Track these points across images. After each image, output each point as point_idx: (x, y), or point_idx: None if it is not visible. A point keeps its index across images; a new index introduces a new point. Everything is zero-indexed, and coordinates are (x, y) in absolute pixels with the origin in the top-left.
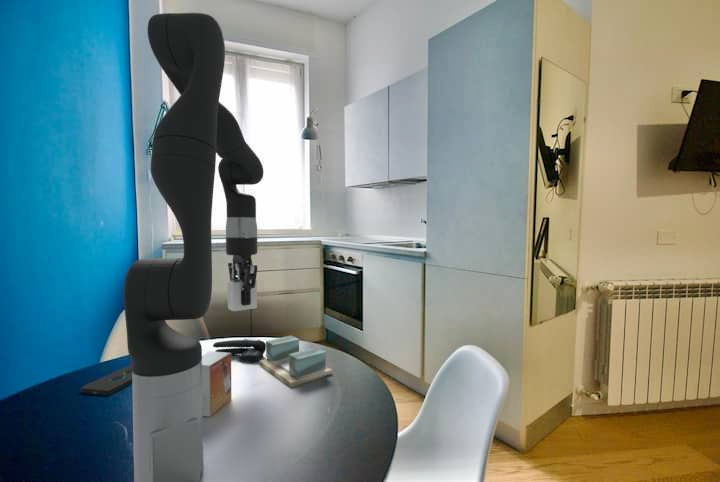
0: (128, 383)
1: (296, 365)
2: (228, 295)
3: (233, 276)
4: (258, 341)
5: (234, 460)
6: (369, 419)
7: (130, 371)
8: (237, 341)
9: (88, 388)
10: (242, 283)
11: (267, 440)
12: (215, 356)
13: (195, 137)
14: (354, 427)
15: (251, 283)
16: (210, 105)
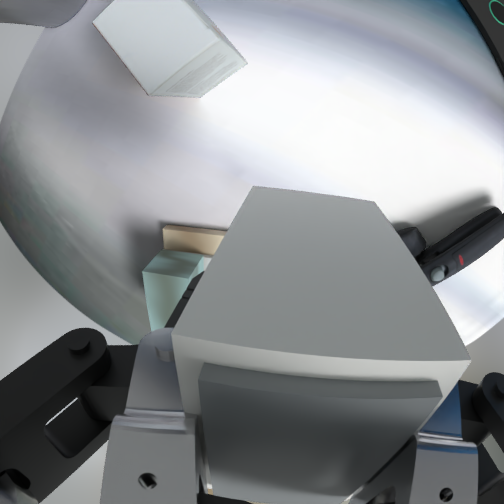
0: None
1: (157, 263)
2: (384, 244)
3: (412, 477)
4: None
5: (42, 62)
6: (35, 245)
7: (501, 12)
8: (457, 258)
9: None
10: (129, 389)
11: (49, 110)
12: (144, 43)
13: None
14: (28, 219)
15: (86, 410)
16: None
